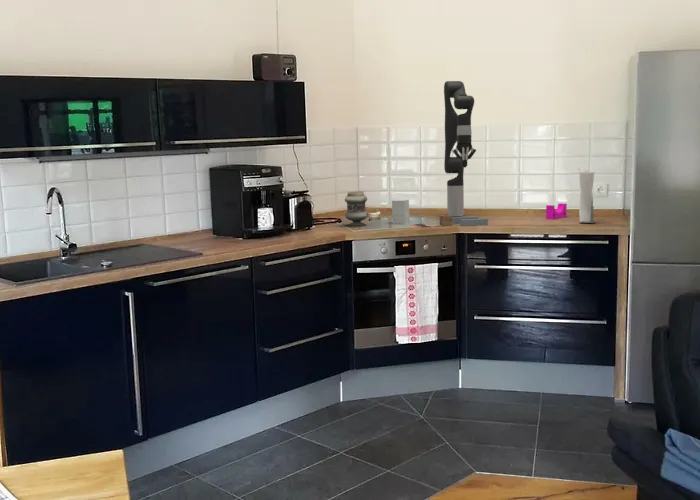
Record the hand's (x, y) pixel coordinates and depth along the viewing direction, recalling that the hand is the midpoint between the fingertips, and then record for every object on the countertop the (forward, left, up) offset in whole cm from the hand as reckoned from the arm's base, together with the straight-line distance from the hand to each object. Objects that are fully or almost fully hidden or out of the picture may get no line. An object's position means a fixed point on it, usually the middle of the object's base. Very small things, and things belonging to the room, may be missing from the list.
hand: (464, 167), depth 423 cm
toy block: (0, +52, -29) cm, 60 cm away
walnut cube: (+11, -14, -29) cm, 34 cm away
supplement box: (-8, -33, -29) cm, 45 cm away
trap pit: (+10, -26, -29) cm, 41 cm away
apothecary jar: (-6, -58, -29) cm, 65 cm away
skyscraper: (+26, +56, -29) cm, 69 cm away
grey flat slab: (+10, -1, -29) cm, 31 cm away
